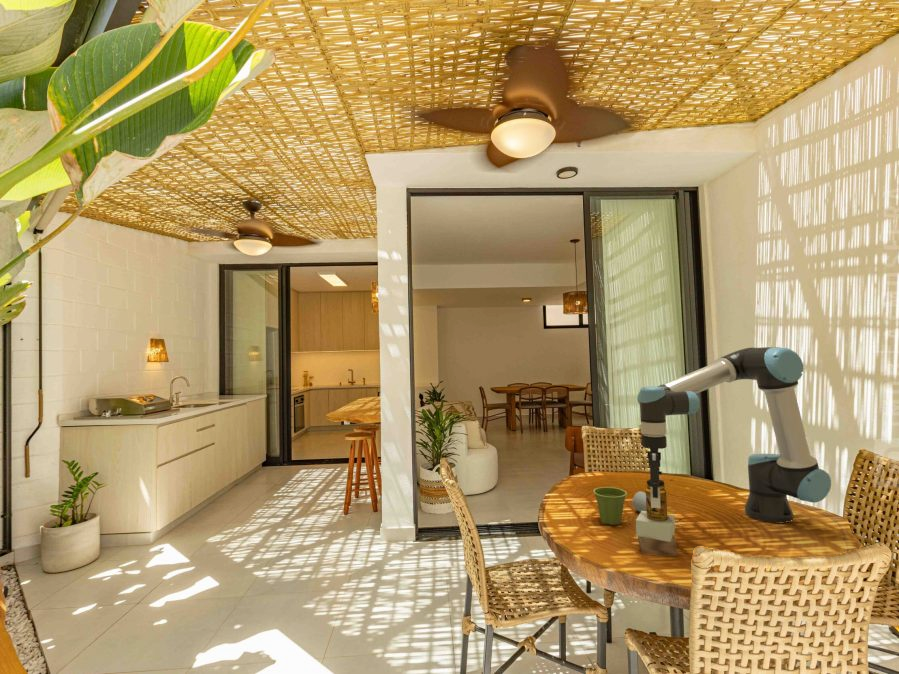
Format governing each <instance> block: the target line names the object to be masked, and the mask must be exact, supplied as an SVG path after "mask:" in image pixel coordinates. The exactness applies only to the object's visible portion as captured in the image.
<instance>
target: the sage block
mask: <svg viewBox="0 0 899 674" xmlns="http://www.w3.org/2000/svg"><path fill="white" fill-rule="evenodd" d="M641 512H644V513H646V512H647V511H641ZM667 516H668V517H669V518H670V519H671V520H673V521H667V522H650V521H648V520H647V519H646V518H645V517H644V515H643V514H641V513H640V512H639V515H638V516H637V518H636V519H635V535H636V536H637V537H638V536H640V537H646V538H651V539H657V540H662V541H668V542H671V540H672V537H673V536H675V535H674V534H675V532H676V526H675V525H676V523H675V522H676V521H675V520H676V519H675V515H674V514H673V515H672V514H667Z"/></svg>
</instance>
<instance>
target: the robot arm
mask: <svg viewBox="0 0 899 674" xmlns="http://www.w3.org/2000/svg"><path fill="white" fill-rule="evenodd" d="M803 372H804V363H803V361H802V358H801V356H800V355H799V354H798V353H797V352H796V351H794V350H792V349H791V348H788V347H781V346H780V347H779V346H770V347H766V346H765V347H746V348H743V349H738V350H736V351H733V352H730V353H728V354H726V355H724V356H720V357H718V358H717V359H715V361H714V363H712V364H709V365H706V366H704V367H701V368H699V369H697V370H694V371H692V372H689V373H687V374H684V375H682V376H679V377H678V378H674V379H672V380H670V381H668V382H665V383H663V384H659V385H658V386H654V385H652V386H641V388H640V389H639V392H638V394H637V402H638V404H639V412H640V413H639V414H640V417H639V418H640V423H639V424H638V427H640V433H641V436H640V441H641V446H642V447H643V448H645V449H649V451H647V459H648V467H649V474H650V475H649V476H650V478H649V479H650V484H648V487H650V493H651V508H661V505H660V484H659V480H661V476H662V475H663V473H662V471H660V468H661V460H662V453H661V451H660V452H659V450H660V449H665V448H667V447H668V445H667V442H668V441H667V435H666V434H667V419H666V417H667V416H679V415H681V416H682V415H686V416H688V415H693V414H696V413H697V412H698V411H699V409H700V398H699V396H698V394H699V393H701V392H704V391H707V390H709V389H711V388H713V387H716V386H719V385H720V384H723V383H732V382H735V381H738V380H739V381H740V380H752V381H756V384H757V387H758V389H759V390H760V391H761V392H764V395H765V400H766V405H767V407H768V412H769V416H770V420H771V424H772V428H773V432H774V436H775V440H776V444H777V448H778V449H777V450H778V452H779V453H755V454H751V455H749V456H748V458H747V459H748V463H747V473H748V485H749V492H748V493H749V494H748V496H747V499H746V503H745V505H744V514H745V515H746V516H747V517H749V518H752V519H754V520H758V521H761V522H766V523H772V522H786V521H791V520H793V519H794V513H793V512H794V511H793V509H792V507H791V505H790V502H789V500H788V497H787V496H789V497H792V498H795V499H798V500H800V501H802V502H803V501H804V502H808V503H819V502H821V501H823V500H824V499H825V498H827V496H828V494H829V493H830V492H831V491H830V490H831V487H832V479H831V477H830V474H829V473H828V472H826V471H825V470H824V469H821V468H820V467H819V463H818V460H817V458H815V457H814V456H813V455H811V452H810V449H809V445H808V441H807V436H806V433H805V428H804V424H803V420H802V416H801V412H800V408H799V403H798V399H797V395H796V390H795V388H797V386H798V385H799V380H800V379H801V377H802V376H803ZM655 482H657V483H655ZM793 521H794V520H793Z"/></svg>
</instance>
